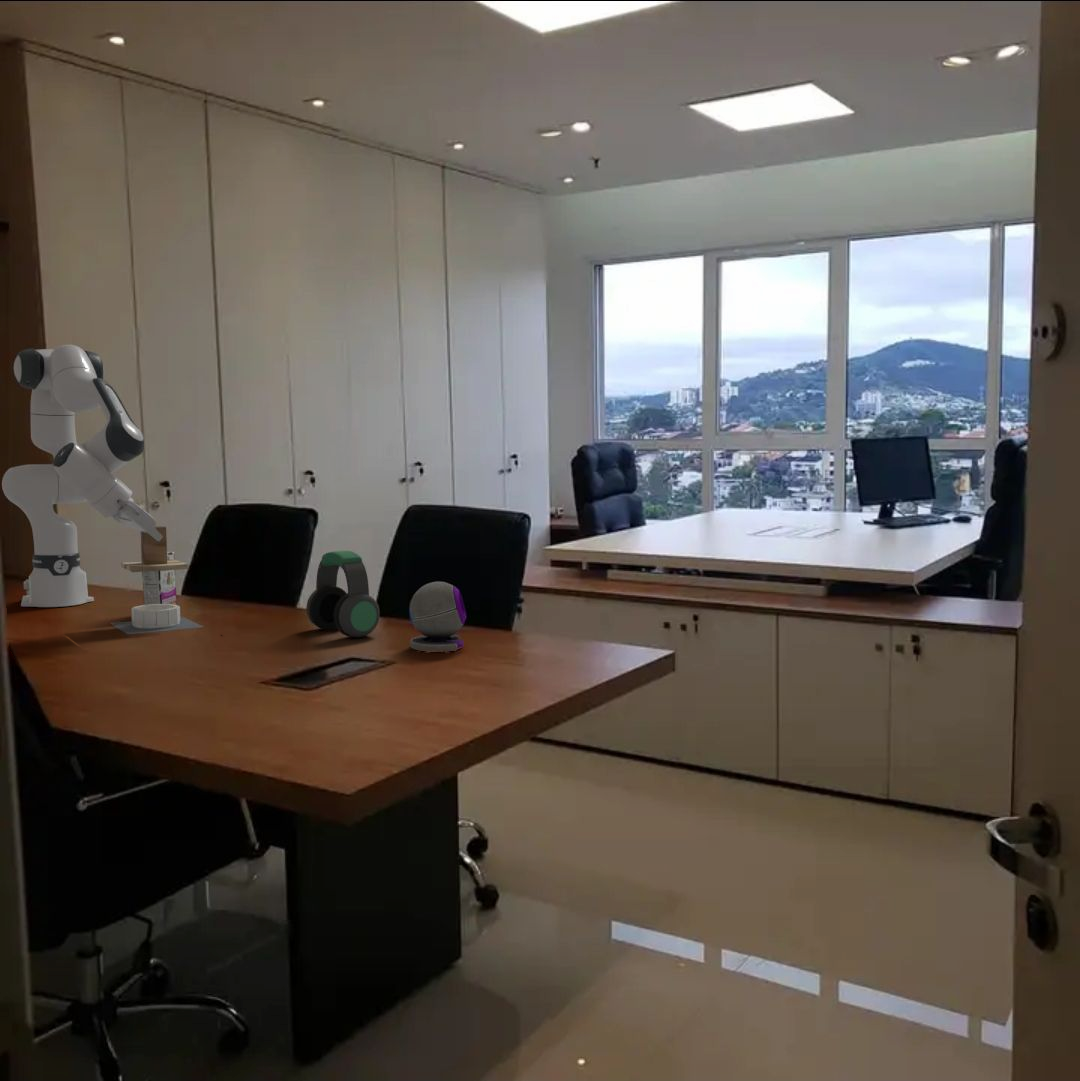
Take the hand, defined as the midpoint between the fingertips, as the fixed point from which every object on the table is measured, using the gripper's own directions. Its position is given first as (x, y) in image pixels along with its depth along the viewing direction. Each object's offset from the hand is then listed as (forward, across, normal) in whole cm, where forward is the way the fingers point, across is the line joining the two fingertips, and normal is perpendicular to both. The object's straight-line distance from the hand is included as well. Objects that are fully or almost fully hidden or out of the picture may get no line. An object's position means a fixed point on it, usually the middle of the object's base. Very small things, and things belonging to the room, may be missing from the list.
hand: (156, 538), depth 264 cm
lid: (+5, 0, +6) cm, 7 cm away
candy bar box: (+19, +14, +12) cm, 27 cm away
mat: (+15, 0, +16) cm, 22 cm away
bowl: (+15, 0, +16) cm, 22 cm away
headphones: (+40, -33, -8) cm, 53 cm away
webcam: (+48, -60, -16) cm, 78 cm away
